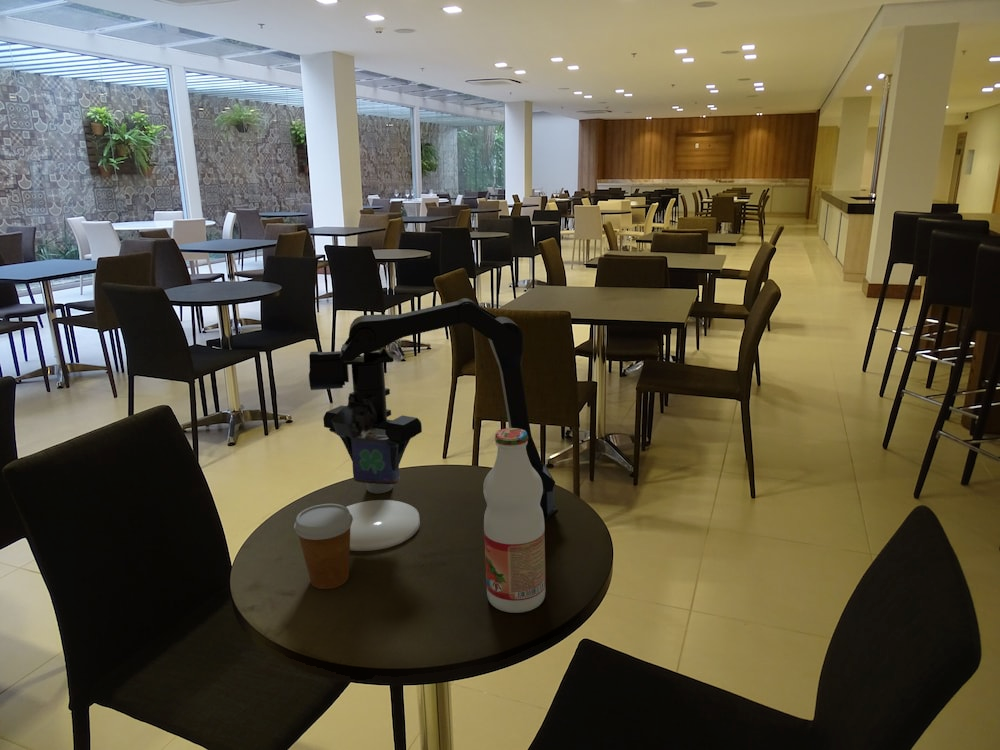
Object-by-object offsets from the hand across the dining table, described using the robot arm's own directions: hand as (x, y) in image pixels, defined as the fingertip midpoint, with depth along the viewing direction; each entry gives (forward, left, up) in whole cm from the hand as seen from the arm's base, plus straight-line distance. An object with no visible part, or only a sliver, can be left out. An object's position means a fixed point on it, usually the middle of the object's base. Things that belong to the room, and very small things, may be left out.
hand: (374, 465), depth 134 cm
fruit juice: (-34, +9, -14) cm, 38 cm away
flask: (0, 0, -3) cm, 3 cm away
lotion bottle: (+12, -15, -14) cm, 24 cm away
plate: (+2, 0, -13) cm, 14 cm away
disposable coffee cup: (-3, +18, -14) cm, 23 cm away
